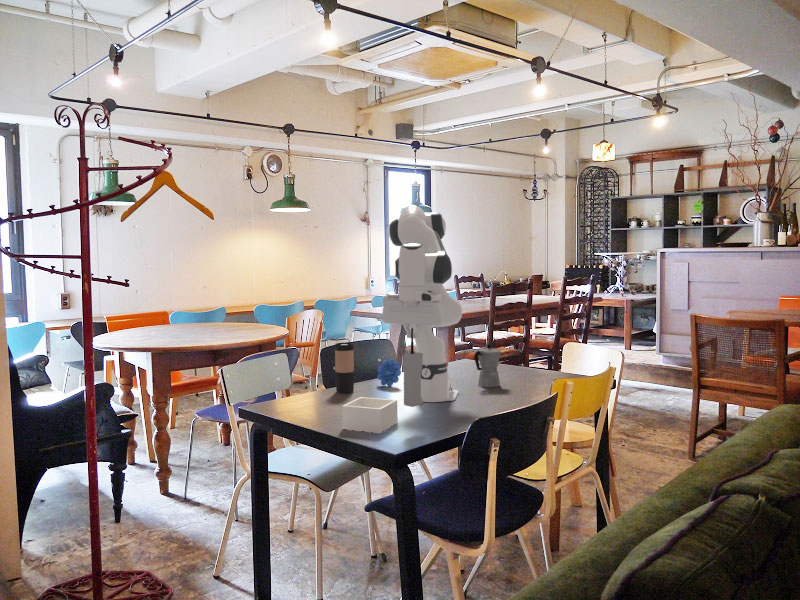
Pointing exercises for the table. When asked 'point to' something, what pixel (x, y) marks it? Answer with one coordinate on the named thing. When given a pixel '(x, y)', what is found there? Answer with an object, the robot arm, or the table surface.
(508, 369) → the table surface
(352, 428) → the bin
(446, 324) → the robot arm
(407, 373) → the vintage mobile phone
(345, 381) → the travel mug
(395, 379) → the grapes
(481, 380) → the coffeepot
